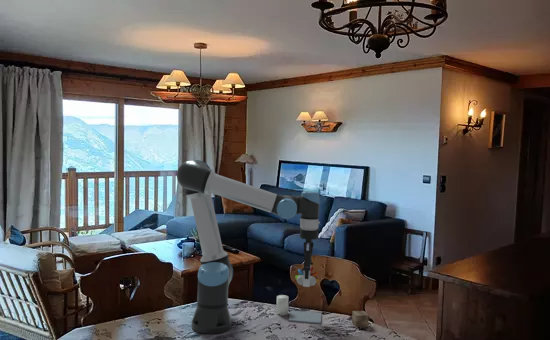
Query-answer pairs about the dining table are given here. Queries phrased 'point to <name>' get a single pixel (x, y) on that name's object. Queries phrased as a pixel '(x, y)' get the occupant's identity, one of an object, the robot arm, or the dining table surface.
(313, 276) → the rainbow wheeled toy
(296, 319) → the felt mat
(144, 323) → the dining table surface
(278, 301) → the white glossy rounded part
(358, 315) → the walnut block
